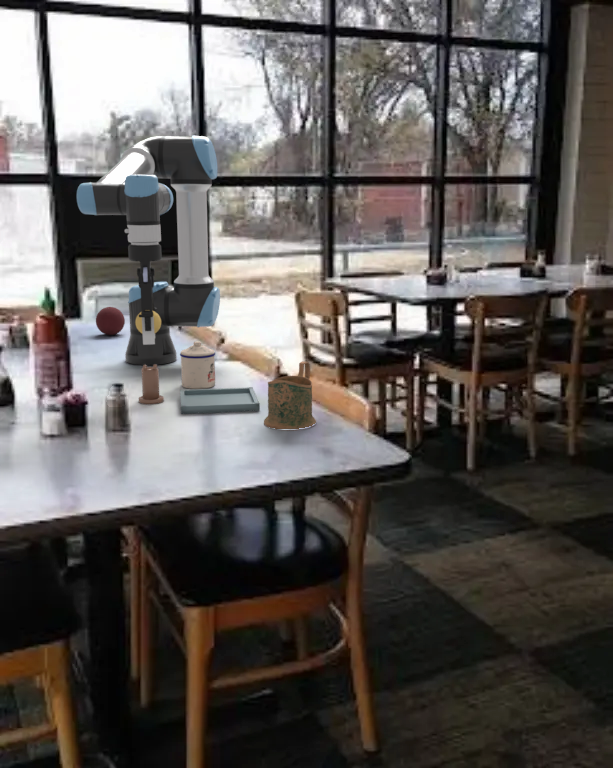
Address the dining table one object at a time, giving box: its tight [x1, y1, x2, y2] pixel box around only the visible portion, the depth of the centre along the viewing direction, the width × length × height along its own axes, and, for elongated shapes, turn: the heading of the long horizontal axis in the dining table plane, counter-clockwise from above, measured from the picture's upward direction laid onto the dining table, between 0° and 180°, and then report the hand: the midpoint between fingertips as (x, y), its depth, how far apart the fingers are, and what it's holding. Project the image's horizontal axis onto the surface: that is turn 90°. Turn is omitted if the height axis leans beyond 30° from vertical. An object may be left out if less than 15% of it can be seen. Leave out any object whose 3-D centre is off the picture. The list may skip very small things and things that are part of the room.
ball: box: [136, 310, 161, 334], centre depth 189 cm, size 6×6×6 cm
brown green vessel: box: [263, 361, 317, 430], centre depth 177 cm, size 12×18×12 cm, turn 161°
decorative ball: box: [95, 306, 126, 336], centre depth 281 cm, size 10×10×10 cm
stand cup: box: [138, 364, 165, 405], centre depth 192 cm, size 6×6×9 cm
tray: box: [179, 386, 261, 415], centre depth 191 cm, size 16×18×2 cm
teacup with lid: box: [179, 341, 216, 390], centre depth 209 cm, size 12×9×12 cm
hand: (149, 341), depth 190 cm, fingers closed on ball, 6 cm apart
